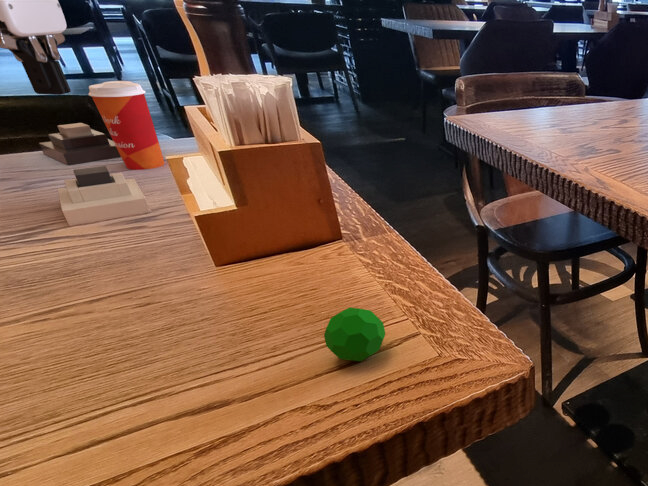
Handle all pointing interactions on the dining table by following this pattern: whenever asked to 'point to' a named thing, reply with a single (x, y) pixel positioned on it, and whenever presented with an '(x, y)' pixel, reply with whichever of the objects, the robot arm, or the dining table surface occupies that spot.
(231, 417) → the dining table surface
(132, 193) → the front block
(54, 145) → the block
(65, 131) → the back key
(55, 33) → the robot arm
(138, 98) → the paper cup
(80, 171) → the front key
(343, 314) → the polyhedron
